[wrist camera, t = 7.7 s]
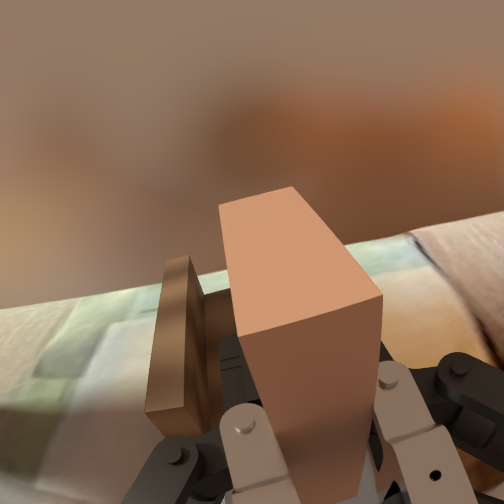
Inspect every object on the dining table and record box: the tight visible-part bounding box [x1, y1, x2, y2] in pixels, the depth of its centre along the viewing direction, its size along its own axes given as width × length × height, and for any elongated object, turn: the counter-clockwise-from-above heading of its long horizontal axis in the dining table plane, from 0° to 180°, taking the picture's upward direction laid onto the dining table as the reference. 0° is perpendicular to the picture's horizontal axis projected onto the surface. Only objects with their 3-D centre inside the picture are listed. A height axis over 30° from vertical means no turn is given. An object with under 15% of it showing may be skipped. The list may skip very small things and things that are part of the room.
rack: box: [145, 255, 236, 440], centre depth 25 cm, size 18×9×6 cm, turn 8°
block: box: [219, 187, 383, 504], centre depth 10 cm, size 6×2×12 cm, turn 8°
